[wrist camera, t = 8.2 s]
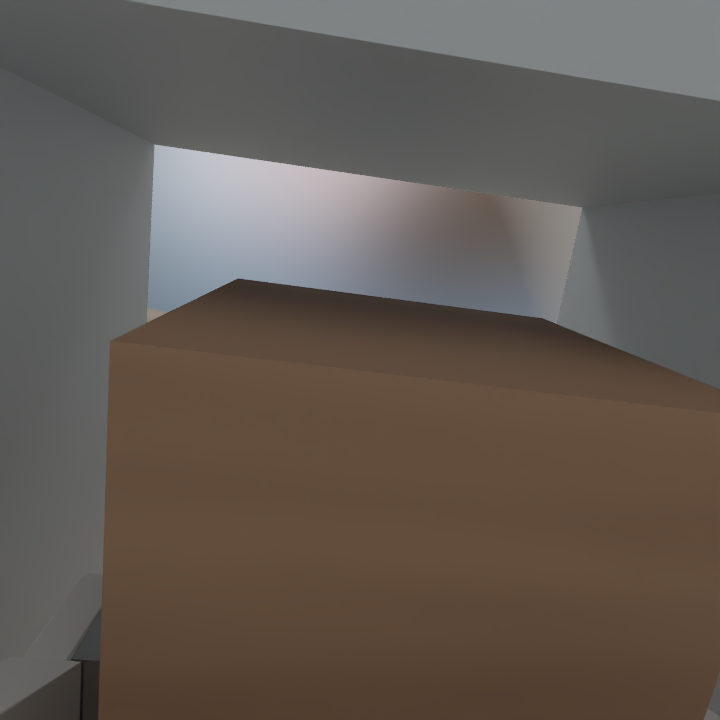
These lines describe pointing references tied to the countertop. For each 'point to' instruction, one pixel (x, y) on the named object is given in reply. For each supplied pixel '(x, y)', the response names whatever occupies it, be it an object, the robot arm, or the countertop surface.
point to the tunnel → (331, 152)
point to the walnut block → (402, 517)
